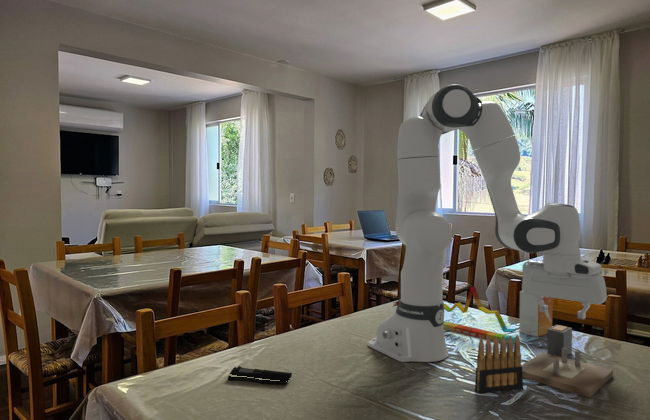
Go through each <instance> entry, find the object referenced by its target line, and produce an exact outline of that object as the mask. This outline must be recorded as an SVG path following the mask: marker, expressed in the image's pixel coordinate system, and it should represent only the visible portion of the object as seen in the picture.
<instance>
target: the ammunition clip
mask: <svg viewBox="0 0 650 420" xmlns="http://www.w3.org/2000/svg"><path fill="white" fill-rule="evenodd" d="M511 336H512V335H509V338H508V343H507V344H506V342H505V338H504V336H502V338H501V343H500V342H498V339H497V337H495V339H494V341H493V344H492V341H491V340H490V338H489V337H488V338H487V339H486V342H485V344H484V339H483V338H479V342H478V350H477V360H476V362H477V365H476V367H475V384H474V385H475V386H474V391H476V393H478V394H479V395H482V394H490V393H499V392H507V391H508V392H509V391H519V390H523V389H524V378H523V372H522V366H521V365H522V352H521V342H520V337H519V335H518V334H516V336H515V337H516V338H515V343H514V344H513V341H512V337H511ZM499 344H500V345H499Z"/></svg>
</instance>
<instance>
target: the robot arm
mask: <svg viewBox="0 0 650 420" xmlns="http://www.w3.org/2000/svg"><path fill="white" fill-rule="evenodd" d="M457 130H458V131H461V132H462V133H464V135H465V136H466V137H467V139H468V140H469V143H470V146H471V149H472V152H473V155H474V158H475V161H476V162H477V165H478V167H479V169H480V172H481V174H482V176H483V179H484V182H485V185H486V189H487V193H488V195H489V199H490V201H491V202H490V203H491V206H492V209H493V212H494V216H495V226H494V227H495V228H494V231H495V234H494V235H495V237H496V240H497V241H498V243H499V244H500V245H501V246H503V247H504V248H506V249H509V250H516V251H519V252H523V253H527V254H536V253H541V252H542V261H535V260H527V261H526V262H524V263H523V264H522V267H521V268H522V274H523V276H522V282H521V283H522V284H521V291H523V292H524V293H525V294H531V295H535V299H536V301H537V302H538V304H539V305H540V312H545V313H546V312H548V309H547V308H548V305H545V304H544V302H543V300H542V298H544V296H545V297H552V298H553V299H558V300H559V299H560V300H564V301H565V300H567V301H572V302H573V301H574V302H580V303H581V307H583V308H582V309H581V310H578V311H576V312H577V317H576V318H577V319H581V320H585V319H586V318H587V317H586V316H587V315H586V314H587V313H586V312H587V311H588V310H589V308H590V307H591V304H593V305H602V304H603V303H605V302H606V301H607V298H608V297H607V285H606V281H605V277H604V276H603V275H602V274H601V273H600V272H602V270H603V269H602V265H601V264H600V263H598V262H595V261H592V260H590V259H586V258H585V257H582V256H581V253H582V251H581V249H580V246H579V244H580V240H581V222H580V215H579V212H578V209H577V208H576V207H575V206H574V205H570V204H565V203H559V202H558V203H557V202H548V203H545V205H544V206H543V207H541V208H540V209H538V210H536V211H533V212H532V213H530V214H526V215H524V214H523V213H522V212H521V211H520V210H519V207H518V204H517V200H516V196H515V193H514V191H513V188H512V177H513V174H514V172H515V170H517V168H518V166H519V164H520V161H521V152H520V146H519V143H518V140H517V137H516V135H515V133H514V129H513V127H512V124H511V123H510V121H509V119H508V117H507V115H506V113H505V111H504V109H502V106H500V104H498V103H497V102H494V101H482V100H481V99H480V98H478V97H477V96H476V95H475V94H474V93H473V92H472V91H471V90H470V89H469V88H468V87H466V86H464V85H462V84H458V83H457V84H454V83H453V84H448V85H446V86H444V87H442V88H440V89H439V90H438V91H437V92H435V93H434V94H433V95H431V96H430V98H429V99H428V101H427V102H426V103H425V105H424V106H423V109H422V111H421V113H420V115H419V116H417V115H416V116H412V117H409V118H407V119H405V120H404V121H402V122H401V124H400V126H399V129H398V136H397V144H396V145H397V147H396V148H397V150H396V153H397V154H396V155H397V157H396V159H397V179H398V183H397V184H398V192H397V193H398V194H397V202H396V213H395V214H396V215H395V216H396V218H395V225H394V231H395V234H396V236H397V238H398V240H399V241H400V242H401V243H402V244H403V245H404V246H405V254H404V258H403V259H404V260H403V265H402V269H401V271H400V299H398V300H397V301H394V302H393V305H392V307H396V308H395V312H393V313H392V314H391V315H389V316H388V317H387V318H385V319H384V320H382V321H381V322H380V323H379V324H378V326H377V329H376V335H375V337H373V338H371V339H370V340H369V341H368V342H367V345H368V347H370V348H371V349H374V350H376V351H377V352H380V353H381V354H384V355H386V356H388V357H390V358H392V359H394V360H396V361H398V362H402V363H408V362H418V363H431V362H434V363H435V362H438V361H443V360H445V359H446V358H448V357H449V355H450V354H449V351H448V346H447V343H446V336H445V331H444V330H445V329H444V328H443V322H444V321H445V309H444V304H445V303H444V301H443V276H444V268H445V263H446V257H447V253H448V249H449V248H448V247H449V246H450V244H451V242H452V241H453V236H454V233H453V227H452V225H451V224H450V222H449V221H448V220H447V219H446V218H445V216H443V215H442V214H440V213H439V212H436V210H437V209H436V206H437V202H438V201H437V200H438V195H439V191H440V189H441V168H440V167H441V163H440V149H439V145H440V139H441V136H442V135H444V134H447V133H450V132H453V131H457Z"/></svg>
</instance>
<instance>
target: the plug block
mask: <svg viewBox="0 0 650 420" xmlns="http://www.w3.org/2000/svg"><path fill="white" fill-rule="evenodd" d="M546 343H547V344H546V345H547V346H546V347H547V348H546V349H547V351H546V353H548V354H552V355H556V356H560V357H562V348H567V357H569V356H570V355H571V354H573V351H572V350H573V328H572V327H569V326H566V325H559V324H555V325H552V327H551V328H549V329H548V334H547V342H546Z"/></svg>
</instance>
